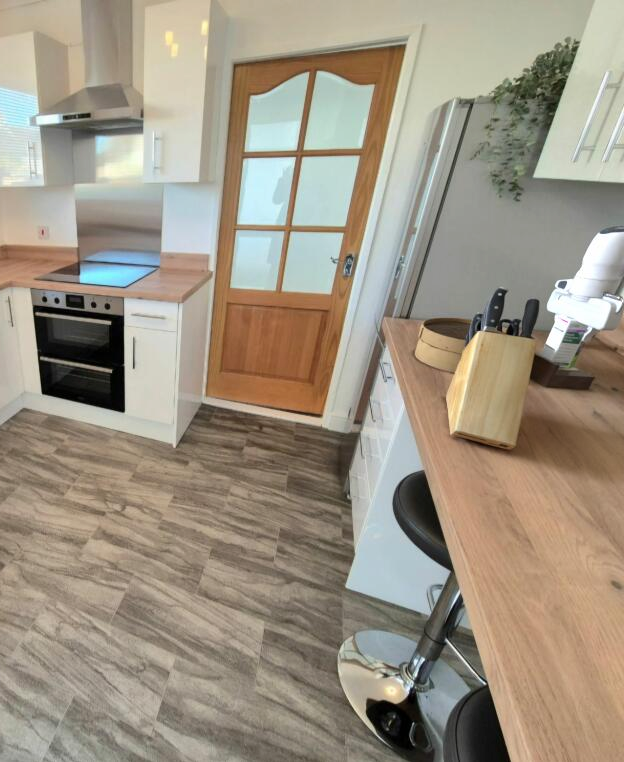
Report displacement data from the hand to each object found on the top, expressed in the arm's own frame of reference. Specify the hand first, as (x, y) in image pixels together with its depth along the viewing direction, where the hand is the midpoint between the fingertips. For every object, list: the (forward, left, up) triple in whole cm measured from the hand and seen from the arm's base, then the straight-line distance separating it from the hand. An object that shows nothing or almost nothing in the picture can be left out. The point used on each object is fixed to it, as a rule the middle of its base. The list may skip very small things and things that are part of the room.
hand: (570, 335), depth 125 cm
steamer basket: (+21, -9, -14) cm, 27 cm away
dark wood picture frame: (+1, 0, -14) cm, 14 cm away
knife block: (+37, +29, -14) cm, 49 cm away
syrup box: (0, 0, -10) cm, 10 cm away
